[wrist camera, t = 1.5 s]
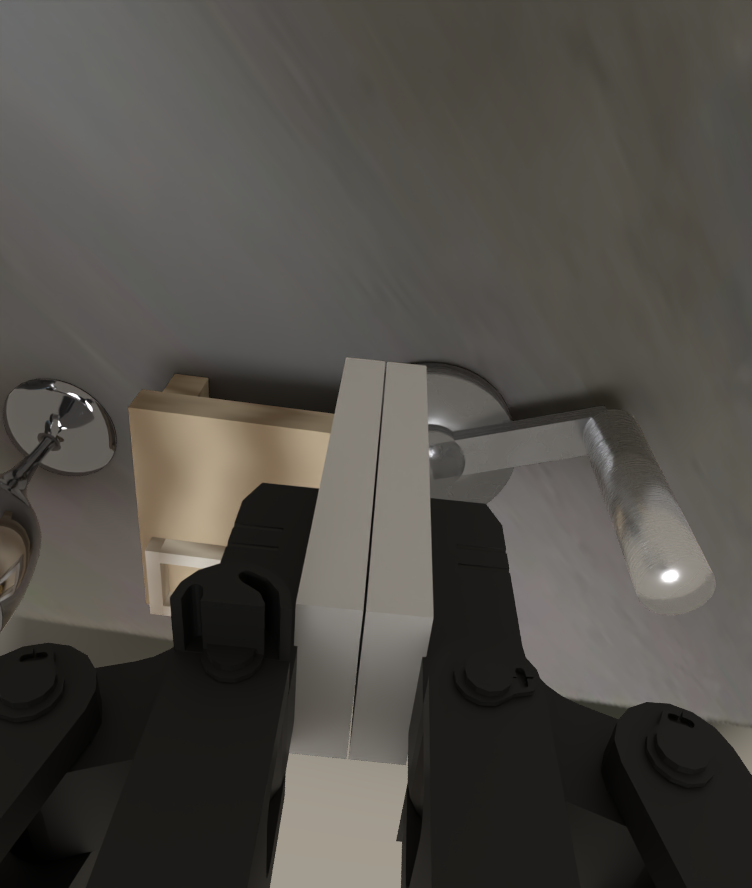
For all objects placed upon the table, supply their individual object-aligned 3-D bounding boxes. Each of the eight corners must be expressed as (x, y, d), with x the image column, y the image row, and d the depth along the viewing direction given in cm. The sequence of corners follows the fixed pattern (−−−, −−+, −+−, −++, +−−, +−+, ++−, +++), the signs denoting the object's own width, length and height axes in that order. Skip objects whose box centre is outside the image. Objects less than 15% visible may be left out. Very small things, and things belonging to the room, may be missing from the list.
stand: (176, 540, 48) (139, 619, 42) (165, 357, 41) (118, 420, 35) (362, 564, 48) (353, 646, 42) (386, 385, 41) (379, 453, 35)
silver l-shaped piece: (369, 515, 46) (347, 706, 33) (328, 380, 41) (283, 546, 28) (631, 474, 43) (714, 667, 30) (621, 324, 38) (716, 482, 25)
